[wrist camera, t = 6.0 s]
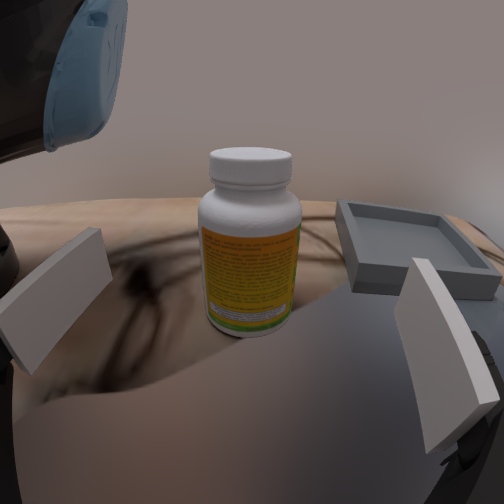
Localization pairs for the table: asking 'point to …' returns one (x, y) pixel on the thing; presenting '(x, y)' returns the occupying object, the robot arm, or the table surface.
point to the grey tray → (409, 250)
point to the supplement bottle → (249, 241)
